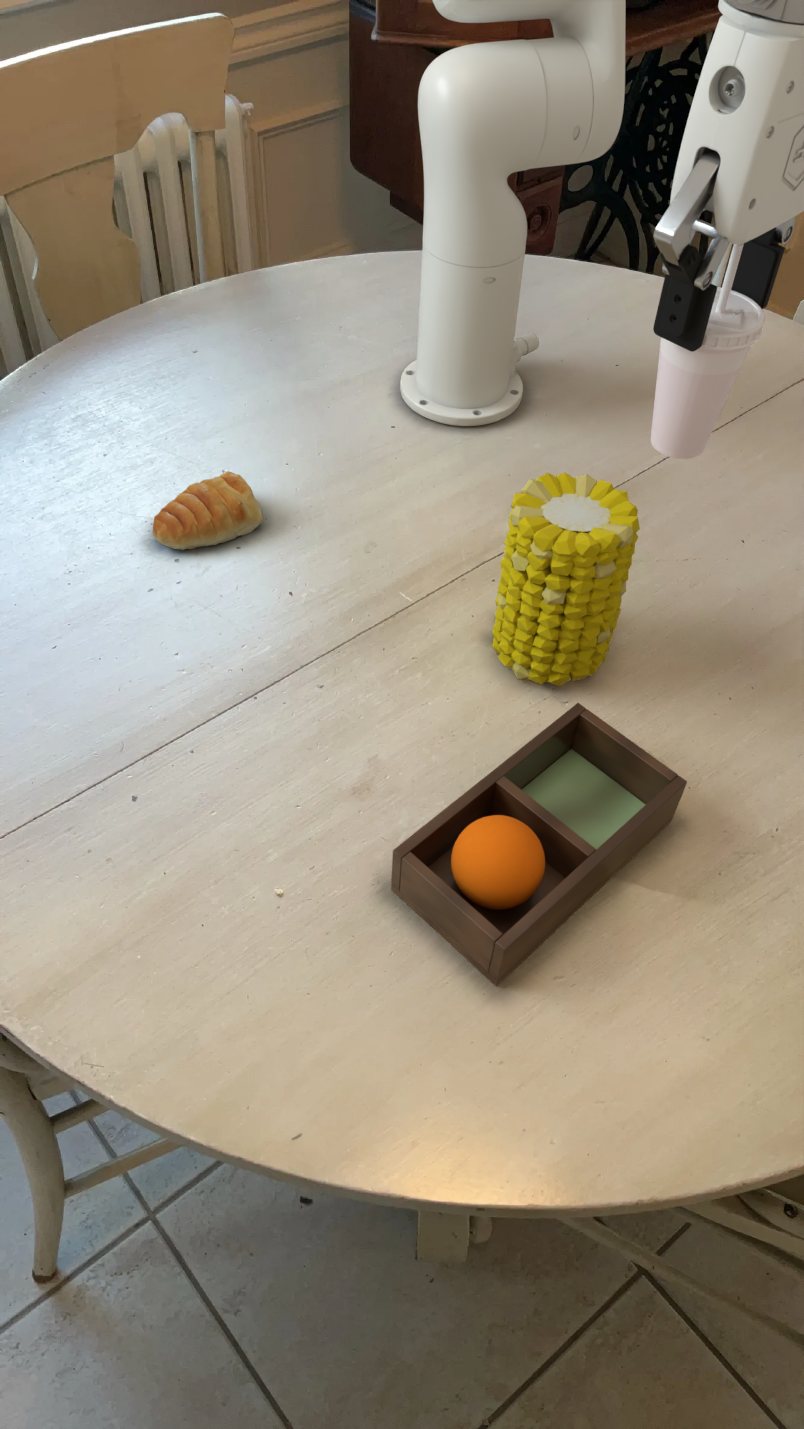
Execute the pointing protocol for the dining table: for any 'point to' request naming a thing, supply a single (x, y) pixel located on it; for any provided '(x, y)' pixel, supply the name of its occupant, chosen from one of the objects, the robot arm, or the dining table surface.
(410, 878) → the tray
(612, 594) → the food
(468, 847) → the clementine
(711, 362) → the smoothie
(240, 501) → the pastry
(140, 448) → the dining table surface
